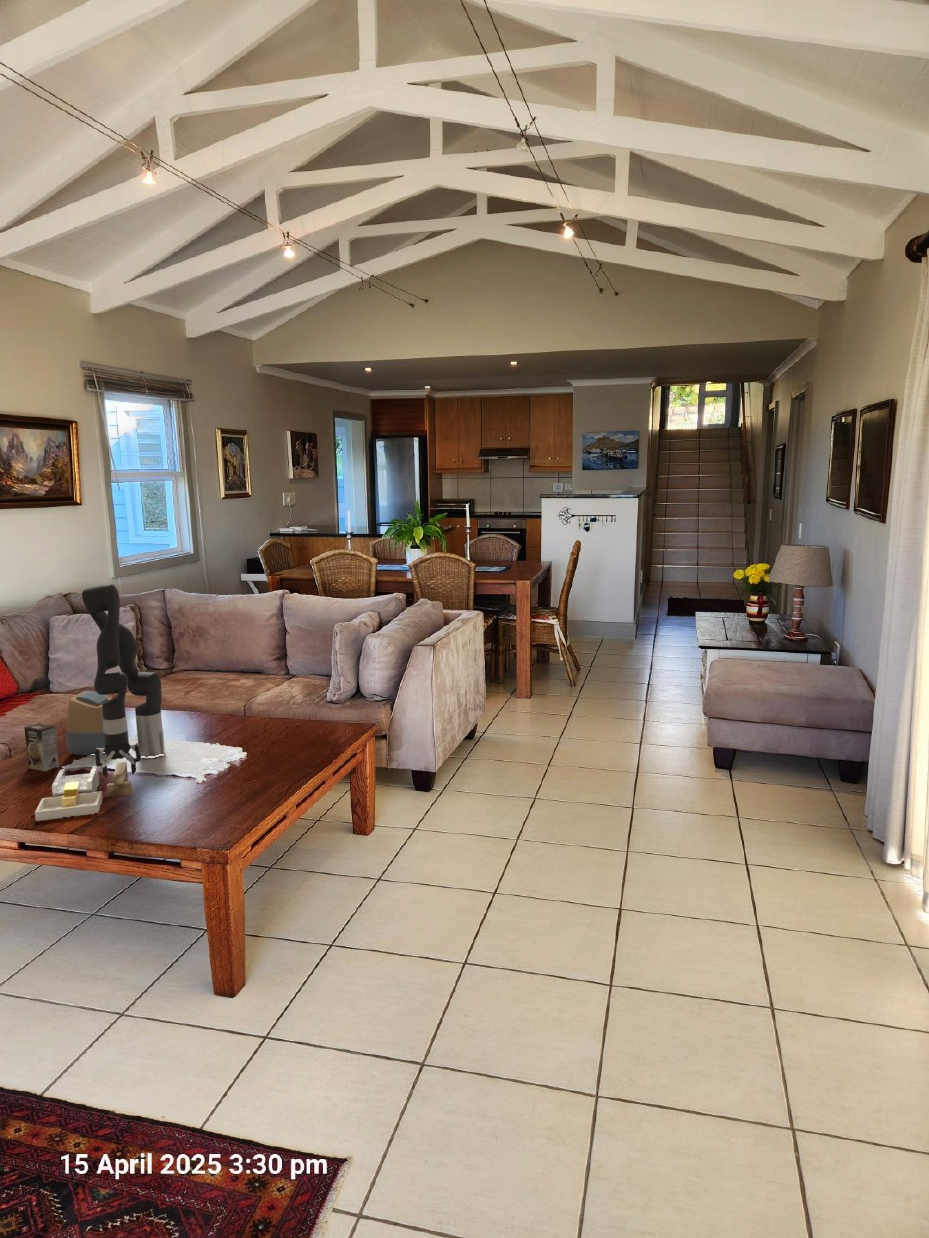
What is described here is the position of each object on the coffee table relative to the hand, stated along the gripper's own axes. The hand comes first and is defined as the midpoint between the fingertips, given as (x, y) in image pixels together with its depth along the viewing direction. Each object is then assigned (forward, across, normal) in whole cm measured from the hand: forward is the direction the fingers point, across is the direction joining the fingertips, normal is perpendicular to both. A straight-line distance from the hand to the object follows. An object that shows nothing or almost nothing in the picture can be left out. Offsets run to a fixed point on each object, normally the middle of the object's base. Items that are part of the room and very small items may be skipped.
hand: (119, 775), depth 275 cm
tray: (+5, +14, +14) cm, 20 cm away
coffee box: (+5, +30, -34) cm, 46 cm away
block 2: (+2, +14, +12) cm, 18 cm away
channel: (+5, +14, -1) cm, 15 cm away
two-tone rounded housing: (+5, +14, -49) cm, 51 cm away
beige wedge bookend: (+5, 0, -1) cm, 5 cm away
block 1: (+2, +14, +9) cm, 17 cm away
